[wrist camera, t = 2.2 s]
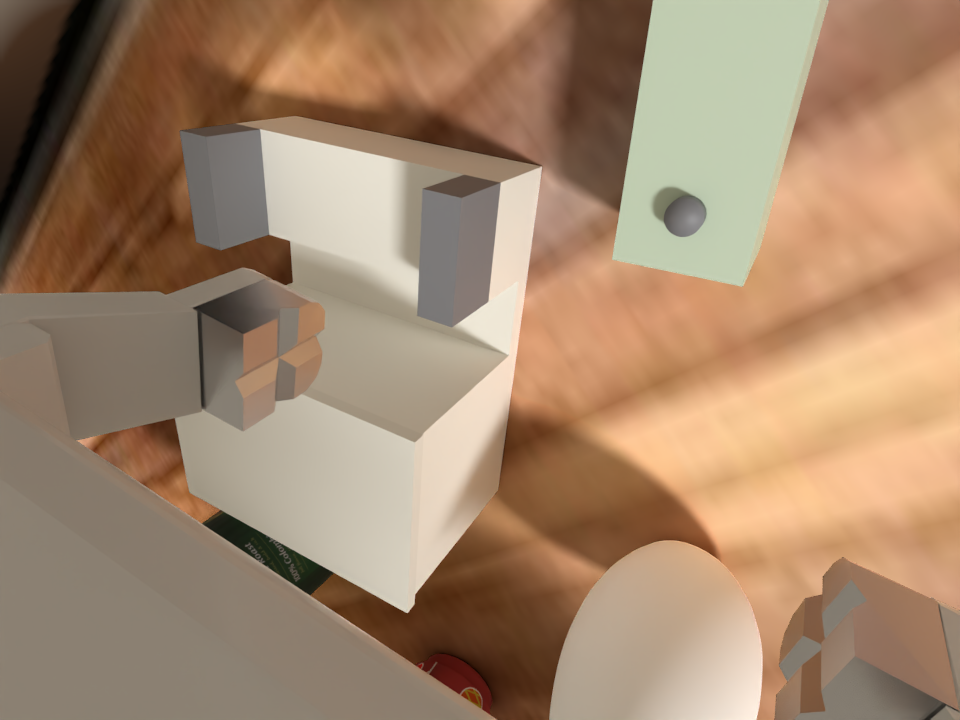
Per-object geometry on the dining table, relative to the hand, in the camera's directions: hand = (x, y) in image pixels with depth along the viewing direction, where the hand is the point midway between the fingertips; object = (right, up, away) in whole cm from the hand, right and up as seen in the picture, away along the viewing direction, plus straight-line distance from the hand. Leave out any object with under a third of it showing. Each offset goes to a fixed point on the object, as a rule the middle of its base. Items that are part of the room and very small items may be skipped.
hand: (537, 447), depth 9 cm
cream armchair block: (-5, +4, +25) cm, 26 cm away
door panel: (+8, +10, +13) cm, 19 cm away
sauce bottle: (+10, -9, +22) cm, 26 cm away
